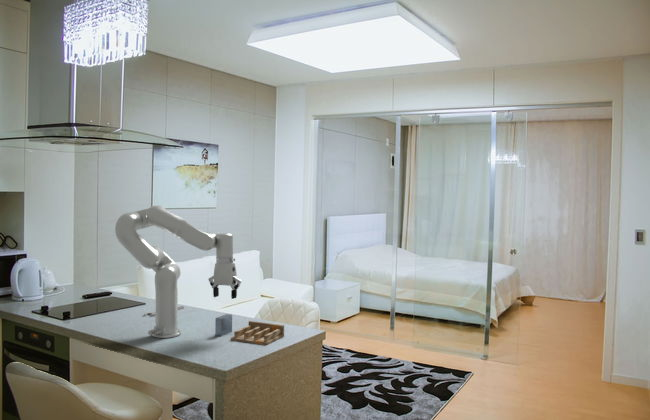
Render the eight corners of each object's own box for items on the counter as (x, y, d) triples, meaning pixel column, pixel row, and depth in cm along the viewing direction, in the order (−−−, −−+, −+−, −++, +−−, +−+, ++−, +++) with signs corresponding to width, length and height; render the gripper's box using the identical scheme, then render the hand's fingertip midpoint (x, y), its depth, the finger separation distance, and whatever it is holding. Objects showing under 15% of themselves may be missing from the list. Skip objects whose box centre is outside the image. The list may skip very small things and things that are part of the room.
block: (220, 336, 231) (221, 318, 230) (215, 335, 232) (215, 318, 232) (232, 331, 239) (232, 314, 239) (226, 330, 240) (226, 314, 240)
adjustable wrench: (181, 308, 289) (182, 305, 289) (189, 310, 285) (189, 307, 285) (142, 316, 269) (142, 312, 269) (149, 318, 265) (149, 314, 265)
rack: (266, 345, 217) (266, 333, 217) (230, 340, 224) (230, 328, 224) (284, 336, 232) (284, 325, 232) (249, 331, 239) (249, 320, 239)
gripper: (245, 260, 235) (245, 297, 235) (213, 258, 241) (214, 294, 242) (236, 262, 228) (236, 300, 228) (204, 260, 235) (204, 297, 235)
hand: (224, 297), depth 235 cm, fingers open, 9 cm apart
